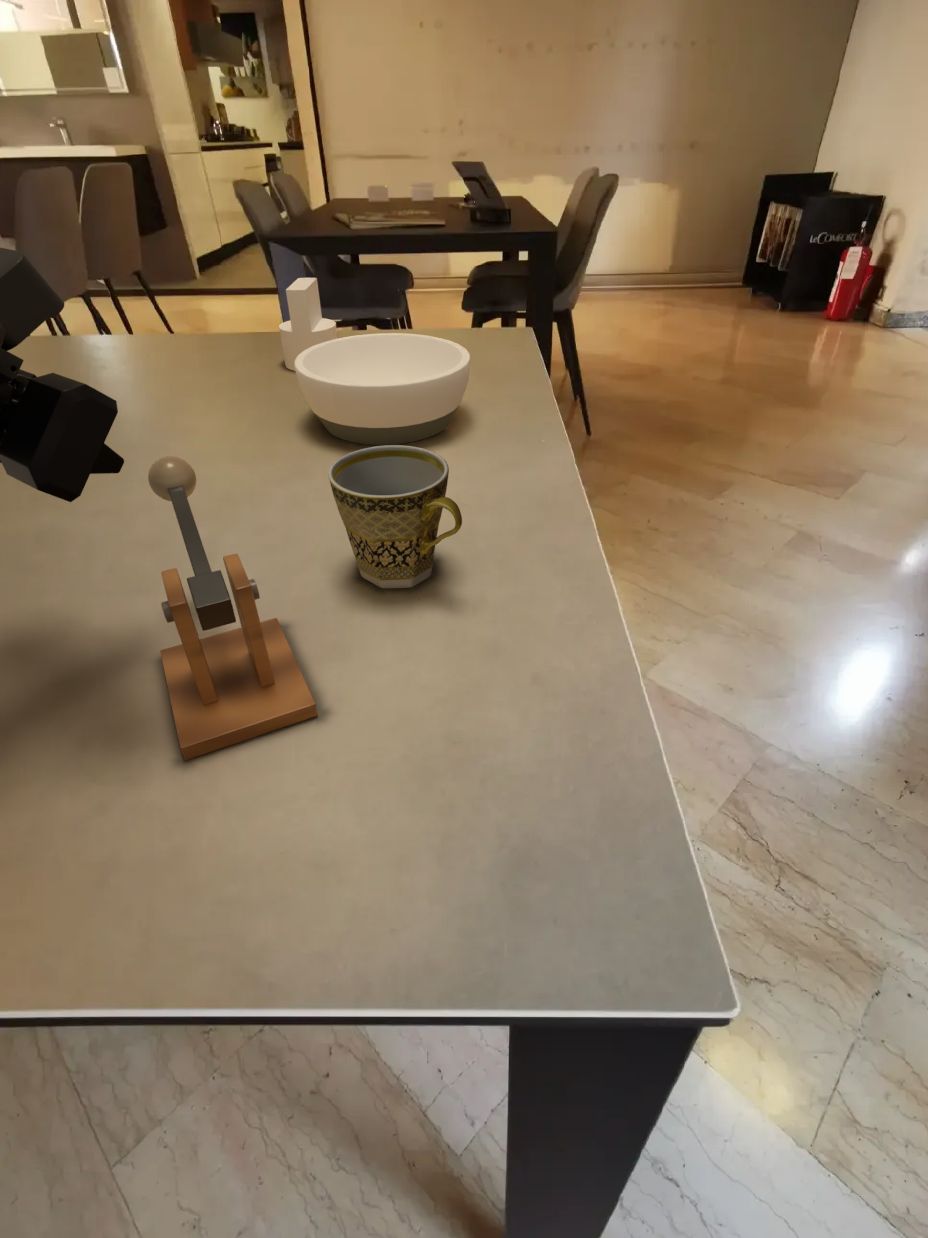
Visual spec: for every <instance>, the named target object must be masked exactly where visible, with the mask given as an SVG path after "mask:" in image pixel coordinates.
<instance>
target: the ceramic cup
mask: <svg viewBox="0 0 928 1238" xmlns="http://www.w3.org/2000/svg"><path fill="white" fill-rule="evenodd" d="M449 470H450V469H449V464H448V462H447V461H446V460H445V458H443V456H441V455H439V454H437V453H436V452H435V451H432V450H429V449H426V448H423V447H418V446H412V445H402V444H390V445H374V446H372V447H371V446H370V447H366V448H361V449H357V450H355V451H352V452H349V453H347V454H344V455H343V456H341V457H340V458H339V459H337V460H336V461H335V462H333V464H332V465H331V466H330V468H329V470H328V480H329V485H330V488H331V492H332V495H333V499H334V501H335V504H336V507H337V510H338V513H339V516H340V518H341V521H342V523H343V526H344V528H345V531H346V534H347V537H348V540H349V543H350V546H351V549H352V550H351V551H352V552H353V555H354V558H355V561H356V565H357V567H358V571H359V573H360V576H361V577H362V578H363V579H364V580H366V581H368V582H370V583H372V584H373V585H375V586H377V587H378V588H381V589H406V588H413V587H415V586H417V585H418V584H420V583H421V582H424V581H425V580H427V579H429V578H430V577H431V575H432V572H433V563H434V557H435V550H436V549H435V548H436V545H438V544H439V543H440V542H442V541H443V540H444V539H446V538H449V537H451V536H453V535H455V534H456V533H458V532H459V531H460V530H461V527H462V526H463V517H462V513H461V510H460V508H459V506H458V504H457V503H456V502H455V501H454V500H453V499H452V498H450V497H448V496H446V495H447V488H448V481H449V473H450V471H449ZM444 509H446V510H447V511H449V512H450V514H451V515H452V517H453V518H454V522H455V525H454V527H453V528H452V529H450V530H448V531H445V532H444V533H441V534H440V535H438V532H439V527H440V520H441V518H442V514H443V510H444Z"/></svg>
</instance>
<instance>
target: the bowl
mask: <svg viewBox="0 0 928 1238" xmlns="http://www.w3.org/2000/svg"><path fill="white" fill-rule="evenodd" d="M470 366H471V354H470V352H469V351H468V350H467V349H466V348H465V347H464V346H462V344H459V343H457V342H454V341H452V340H449V339H445V338H441V337H438V336H432V335H426V334H419V333H401V332H391V333H390V332H381V333H380V332H379V333H365V334H357V335H350V336H349V335H348V336H344V337H338V339H334V340H330V341H326V342H323V343H320V344H317V345H314V346H312V347H310V348H308V349H306V350H304V351H303V352H302V353H300V354H299V355H298V356H297V358H296V359H295V362H294V367H295V371H294V372H295V375H296V379H297V383H298V386H299V389H300V391H301V393H302V395H303V397H304V399H305V401H306V402H307V404H308V406H309V408H310V410H312V412H313V414H315V416H316V417H317V418H318V419H319V421H320V422H321V424H322V425H323V426H324V427H325V429H326V430H327V432H328V433H330V434H331V435H332V436H334V437H335V438H339V439H341V440H343V441H347V442H350V443H357V444H363V445H372V446H373V445H374V446H385V445H402V444H407V443H412V442H417V441H421V440H424V439H425V440H426V439H428V438H430V437H433V436H435V435H437V434H439V433H440V432H442V431H444V430H445V429H446V428H447V427H448V426H449V424H450V423H451V420H452V418H453V416H454V415H455V413H456V411H457V410H458V407H459V406H460V404H461V402H462V400H463V397H464V395H465V392H466V389H467V386H468V383H469V379H470V369H471V368H470Z"/></svg>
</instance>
